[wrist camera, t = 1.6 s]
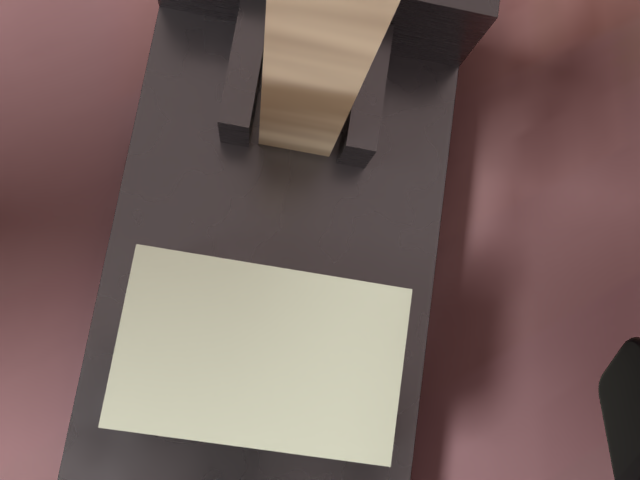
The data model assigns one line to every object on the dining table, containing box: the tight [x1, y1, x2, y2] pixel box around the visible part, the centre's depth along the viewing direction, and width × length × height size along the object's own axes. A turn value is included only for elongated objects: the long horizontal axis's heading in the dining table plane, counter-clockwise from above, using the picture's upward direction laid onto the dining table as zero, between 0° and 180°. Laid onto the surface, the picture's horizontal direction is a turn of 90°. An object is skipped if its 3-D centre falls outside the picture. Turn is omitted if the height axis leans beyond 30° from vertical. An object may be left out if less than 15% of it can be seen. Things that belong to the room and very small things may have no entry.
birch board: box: [259, 0, 401, 157], centre depth 16 cm, size 4×2×11 cm, turn 171°
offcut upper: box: [98, 244, 412, 467], centre depth 17 cm, size 5×8×2 cm, turn 82°
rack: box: [57, 0, 500, 480], centre depth 19 cm, size 18×11×5 cm, turn 172°
